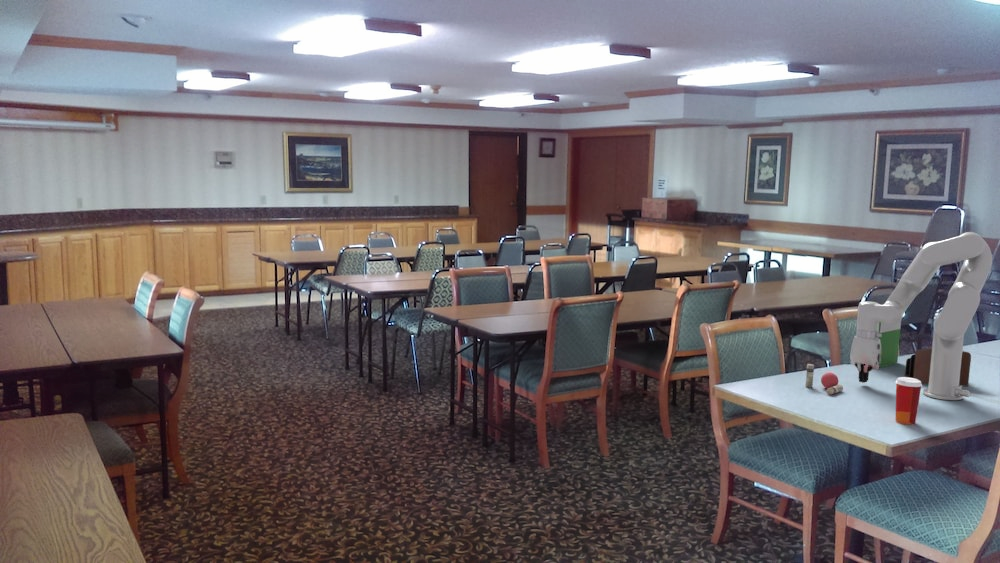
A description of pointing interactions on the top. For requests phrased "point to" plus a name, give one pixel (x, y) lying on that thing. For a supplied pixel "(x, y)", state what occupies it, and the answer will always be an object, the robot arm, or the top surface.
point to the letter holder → (921, 366)
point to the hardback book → (889, 343)
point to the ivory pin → (834, 389)
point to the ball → (829, 380)
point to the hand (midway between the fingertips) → (863, 381)
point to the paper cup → (907, 399)
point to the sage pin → (809, 375)
